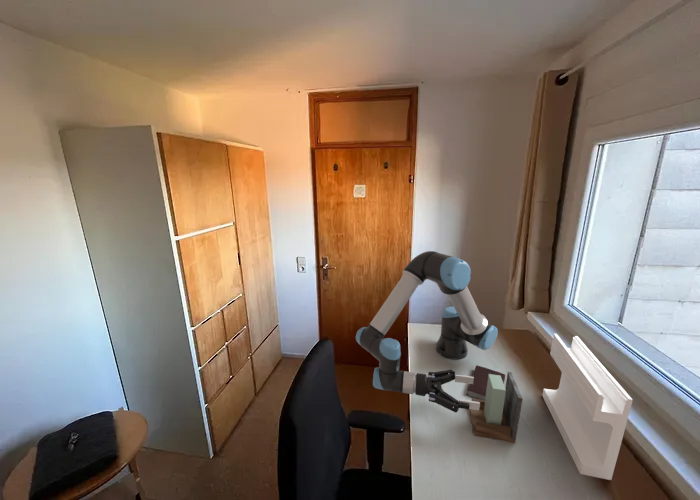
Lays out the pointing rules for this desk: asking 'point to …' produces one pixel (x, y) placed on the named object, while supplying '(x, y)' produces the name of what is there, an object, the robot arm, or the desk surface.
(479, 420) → the slot board
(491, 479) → the desk surface
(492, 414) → the grey-green tall block
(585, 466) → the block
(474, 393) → the book
